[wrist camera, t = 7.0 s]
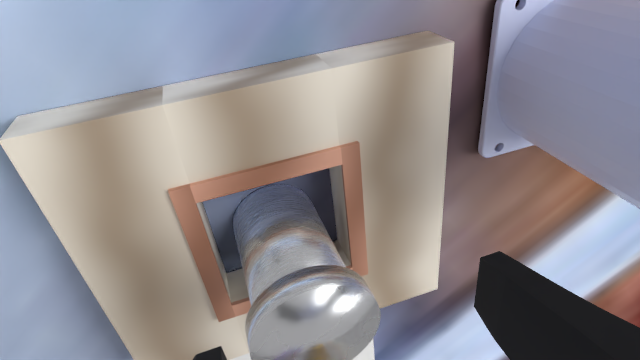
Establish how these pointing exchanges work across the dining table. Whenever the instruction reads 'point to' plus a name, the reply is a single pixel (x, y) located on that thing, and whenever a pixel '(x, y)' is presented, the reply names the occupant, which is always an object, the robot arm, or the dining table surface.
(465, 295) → the dining table surface
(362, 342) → the knob
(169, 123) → the hole plate
